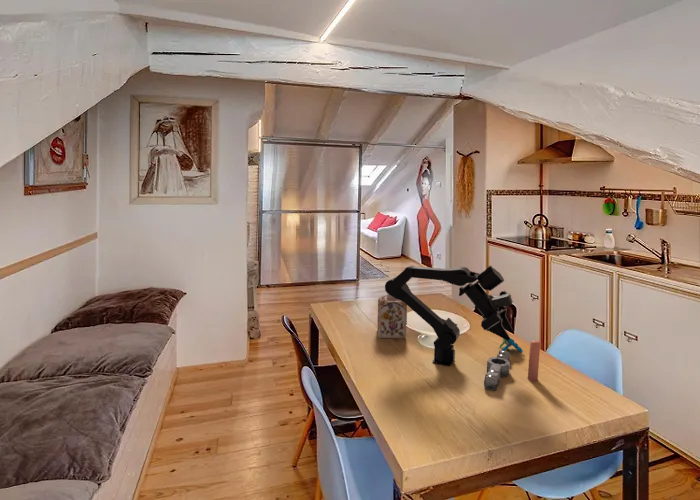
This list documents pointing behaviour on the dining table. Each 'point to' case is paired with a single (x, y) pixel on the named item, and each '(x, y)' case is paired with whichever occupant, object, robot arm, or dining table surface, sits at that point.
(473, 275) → the robot arm
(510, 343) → the gear
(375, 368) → the dining table surface
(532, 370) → the pin
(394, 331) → the decorative jar
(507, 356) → the grey jointed bar
